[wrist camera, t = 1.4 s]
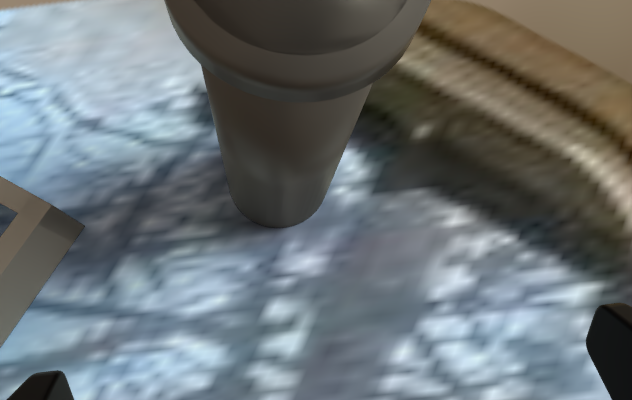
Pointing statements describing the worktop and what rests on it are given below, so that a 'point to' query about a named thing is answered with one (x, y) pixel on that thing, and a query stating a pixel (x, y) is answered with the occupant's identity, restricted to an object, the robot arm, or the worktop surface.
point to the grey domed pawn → (290, 88)
